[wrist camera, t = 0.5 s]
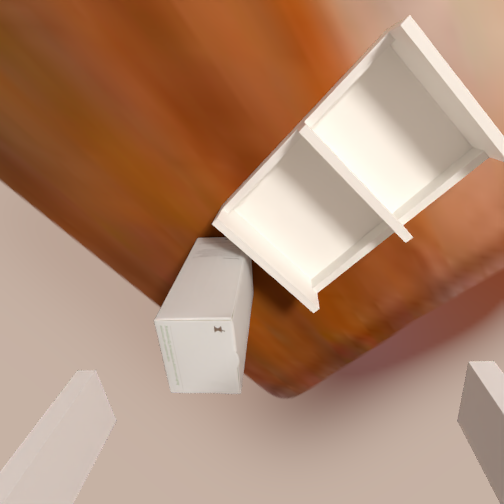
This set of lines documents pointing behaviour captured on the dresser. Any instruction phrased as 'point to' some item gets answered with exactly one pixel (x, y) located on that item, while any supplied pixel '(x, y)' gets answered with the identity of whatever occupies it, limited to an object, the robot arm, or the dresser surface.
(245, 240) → the caddy rack
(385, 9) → the dresser surface
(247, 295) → the skincare box
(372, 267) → the dresser surface
